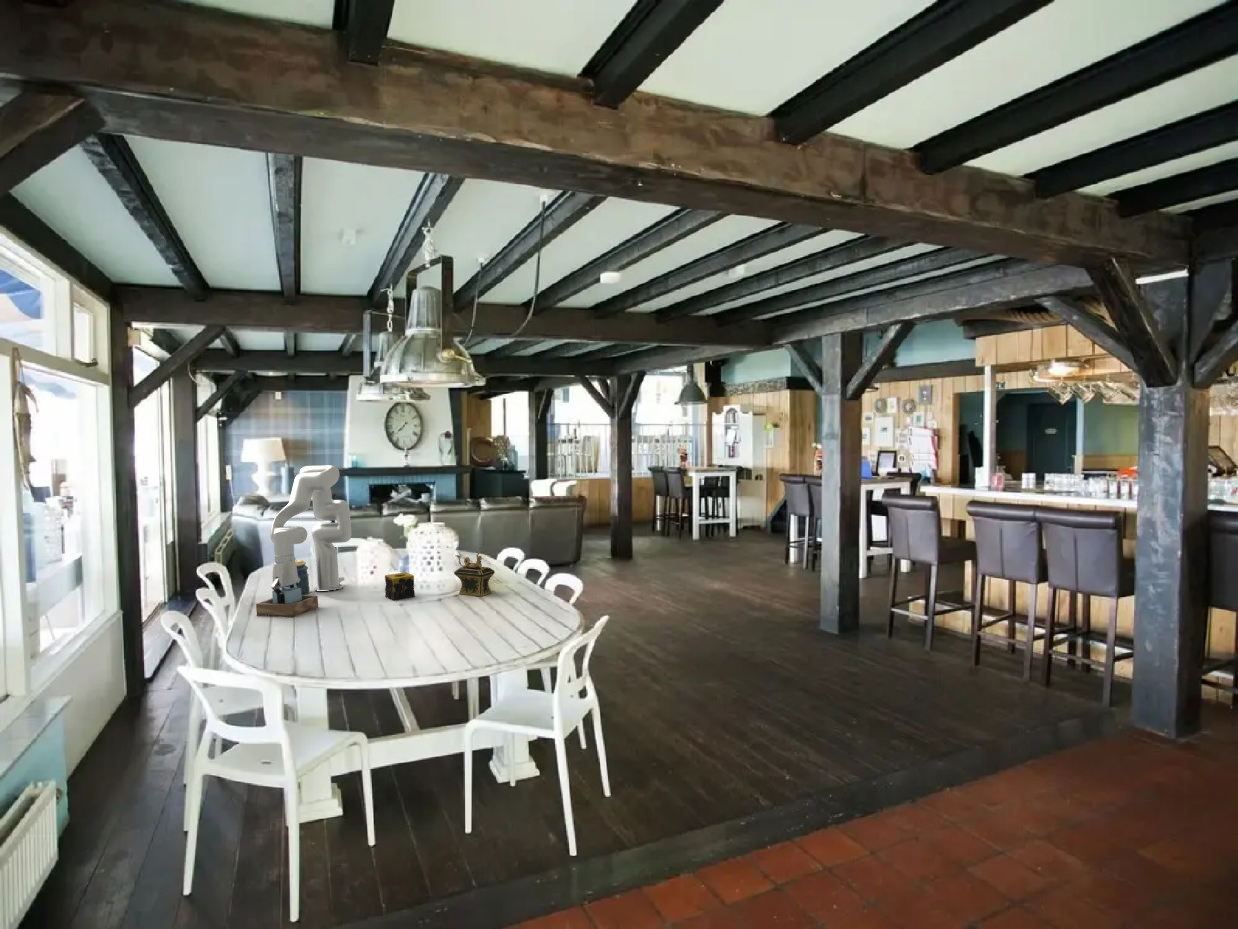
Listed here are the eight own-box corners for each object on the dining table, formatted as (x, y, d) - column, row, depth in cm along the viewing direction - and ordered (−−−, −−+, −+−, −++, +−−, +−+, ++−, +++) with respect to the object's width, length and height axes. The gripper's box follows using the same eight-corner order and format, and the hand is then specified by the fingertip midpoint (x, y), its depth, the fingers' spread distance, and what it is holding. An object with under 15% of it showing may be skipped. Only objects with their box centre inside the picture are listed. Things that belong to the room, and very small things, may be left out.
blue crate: (283, 600, 306) (283, 587, 305) (301, 601, 303) (301, 588, 303) (272, 604, 299) (272, 591, 299) (291, 604, 297) (290, 591, 297)
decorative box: (497, 592, 322) (495, 549, 321) (482, 597, 313) (480, 552, 312) (463, 589, 332) (461, 546, 331) (448, 593, 324) (446, 550, 322)
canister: (305, 589, 343) (302, 553, 342) (313, 594, 333) (311, 556, 332) (275, 594, 335) (273, 557, 334) (283, 599, 325) (281, 560, 324)
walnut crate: (283, 606, 311) (283, 594, 311) (318, 607, 307) (317, 595, 306) (256, 615, 296) (256, 603, 296) (292, 617, 292) (291, 605, 291)
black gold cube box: (385, 597, 321) (383, 575, 321) (407, 593, 327) (405, 571, 327) (393, 601, 313) (391, 578, 312) (415, 597, 319) (414, 575, 318)
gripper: (291, 555, 310) (294, 596, 311) (261, 562, 293) (264, 606, 294) (306, 555, 308) (308, 596, 309) (277, 563, 291) (279, 606, 292)
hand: (287, 600), depth 301 cm, fingers closed on blue crate, 6 cm apart
